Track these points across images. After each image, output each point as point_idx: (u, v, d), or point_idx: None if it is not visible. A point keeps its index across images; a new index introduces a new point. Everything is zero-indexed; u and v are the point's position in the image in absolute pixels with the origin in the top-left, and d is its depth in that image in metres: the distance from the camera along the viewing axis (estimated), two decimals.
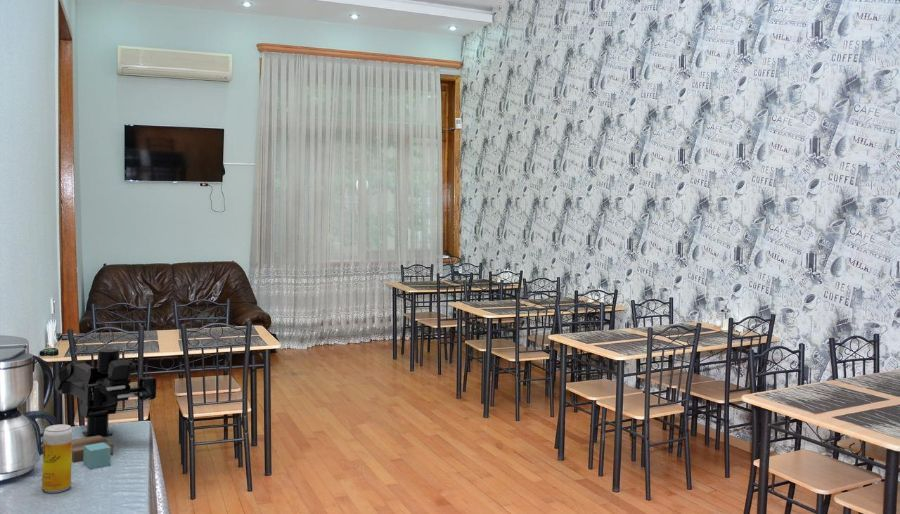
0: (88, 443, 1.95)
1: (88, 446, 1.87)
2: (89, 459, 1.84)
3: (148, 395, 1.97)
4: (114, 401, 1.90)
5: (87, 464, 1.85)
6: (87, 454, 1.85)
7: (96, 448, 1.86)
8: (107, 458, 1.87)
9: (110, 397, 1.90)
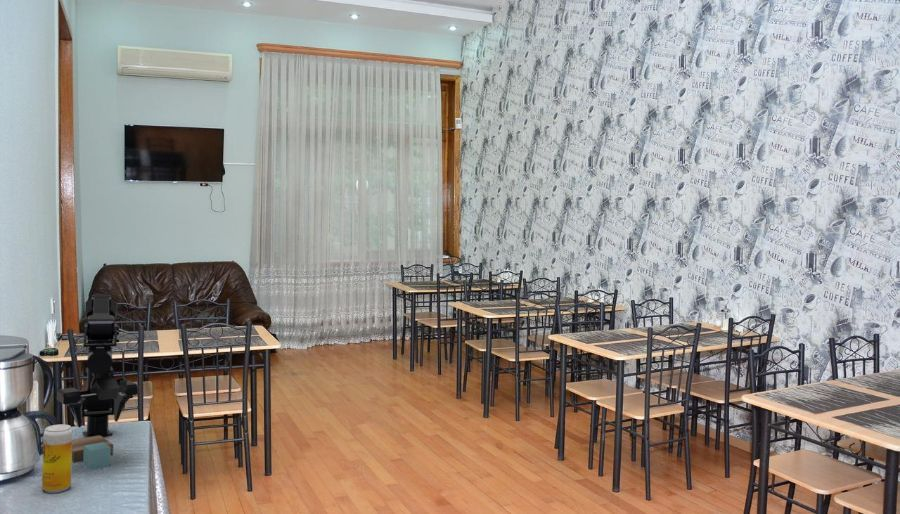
0: (88, 443, 1.95)
1: (88, 446, 1.87)
2: (89, 459, 1.84)
3: (115, 417, 1.90)
4: (77, 425, 1.84)
5: (87, 464, 1.85)
6: (87, 454, 1.85)
7: (96, 448, 1.86)
8: (107, 458, 1.87)
9: (77, 420, 1.83)
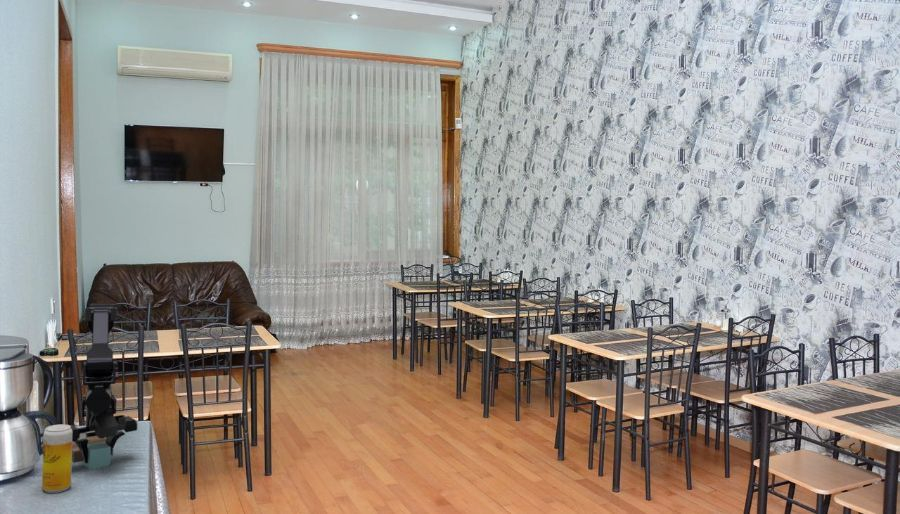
0: (88, 443, 1.95)
1: (88, 446, 1.87)
2: (89, 459, 1.84)
3: None
4: (84, 461, 1.86)
5: (87, 464, 1.85)
6: (88, 453, 1.85)
7: (96, 448, 1.86)
8: (107, 458, 1.87)
9: (84, 456, 1.85)
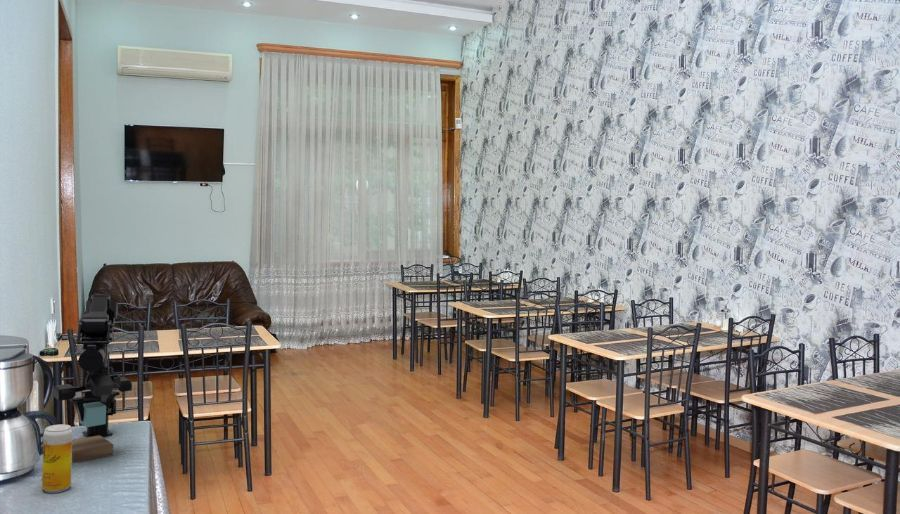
0: (88, 443, 1.95)
1: (84, 405, 1.91)
2: (85, 417, 1.88)
3: None
4: (80, 419, 1.90)
5: (83, 422, 1.89)
6: None
7: (92, 406, 1.90)
8: (103, 416, 1.91)
9: (79, 414, 1.89)
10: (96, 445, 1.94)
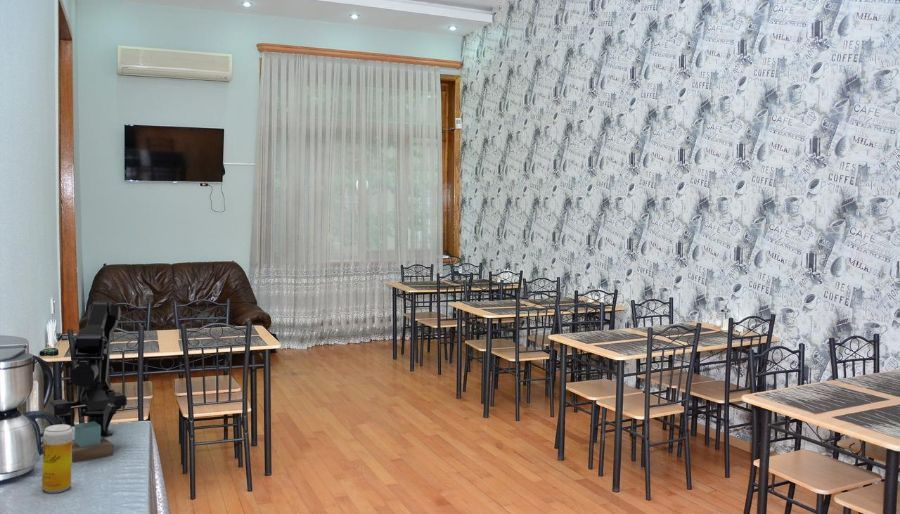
0: None
1: (79, 425, 1.94)
2: (80, 437, 1.92)
3: (104, 427, 1.98)
4: None
5: (78, 442, 1.93)
6: (78, 432, 1.93)
7: (87, 426, 1.93)
8: (97, 436, 1.95)
9: None
10: (96, 445, 1.94)
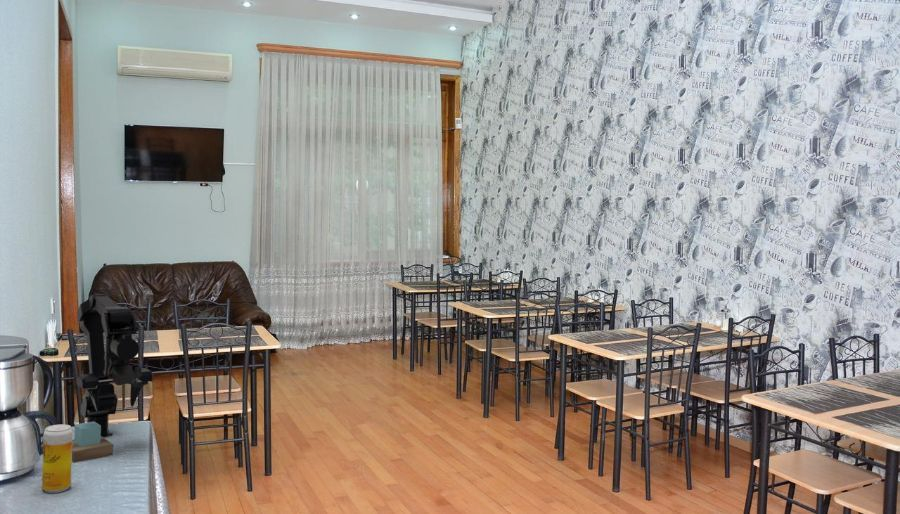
0: None
1: (79, 425, 1.94)
2: (80, 437, 1.92)
3: (131, 402, 2.01)
4: (96, 409, 1.95)
5: (78, 442, 1.93)
6: (78, 432, 1.93)
7: (87, 426, 1.93)
8: (97, 436, 1.95)
9: (95, 404, 1.94)
10: (96, 445, 1.94)
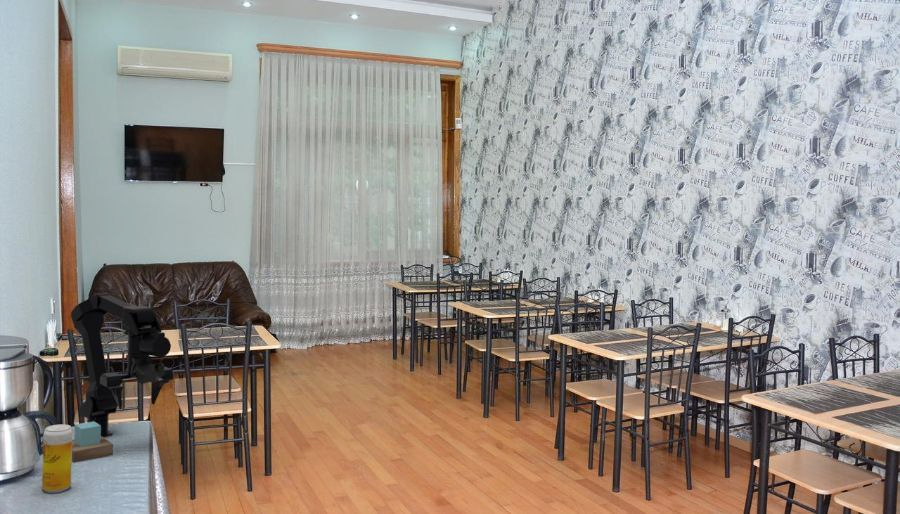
0: None
1: (79, 425, 1.94)
2: (80, 437, 1.92)
3: (152, 401, 2.04)
4: (118, 407, 1.98)
5: (78, 442, 1.93)
6: (78, 432, 1.93)
7: (87, 426, 1.93)
8: (97, 436, 1.95)
9: (118, 402, 1.97)
10: (96, 445, 1.94)
